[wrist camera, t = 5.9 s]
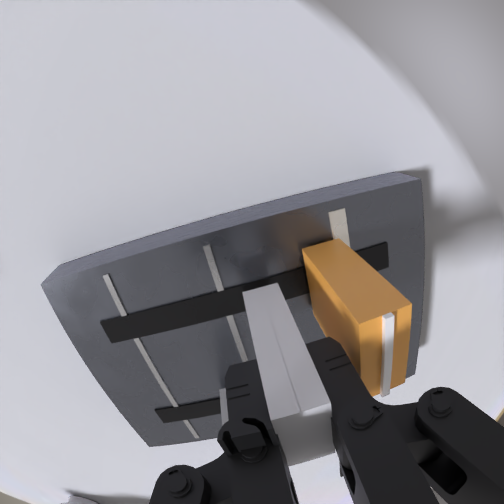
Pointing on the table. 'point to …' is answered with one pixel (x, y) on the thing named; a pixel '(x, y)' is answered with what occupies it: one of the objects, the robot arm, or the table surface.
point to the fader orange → (360, 313)
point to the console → (224, 295)
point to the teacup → (79, 500)
